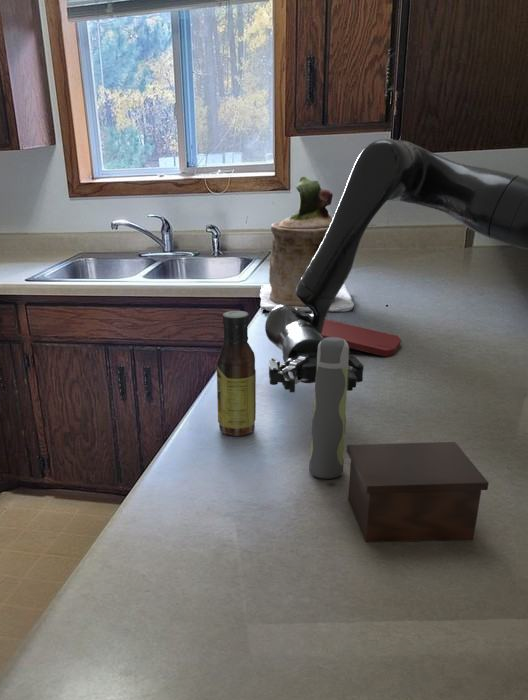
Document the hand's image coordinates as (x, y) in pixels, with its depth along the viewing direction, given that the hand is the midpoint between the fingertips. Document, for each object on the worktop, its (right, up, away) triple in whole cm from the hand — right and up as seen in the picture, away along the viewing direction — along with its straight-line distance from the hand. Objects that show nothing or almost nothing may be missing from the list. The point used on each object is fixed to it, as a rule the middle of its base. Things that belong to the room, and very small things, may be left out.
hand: (321, 385), depth 109 cm
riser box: (+8, -19, -14) cm, 25 cm away
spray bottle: (0, -13, -2) cm, 13 cm away
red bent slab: (+16, +16, +56) cm, 60 cm away
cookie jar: (+15, +35, +94) cm, 102 cm away
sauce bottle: (-11, -6, +14) cm, 19 cm away
